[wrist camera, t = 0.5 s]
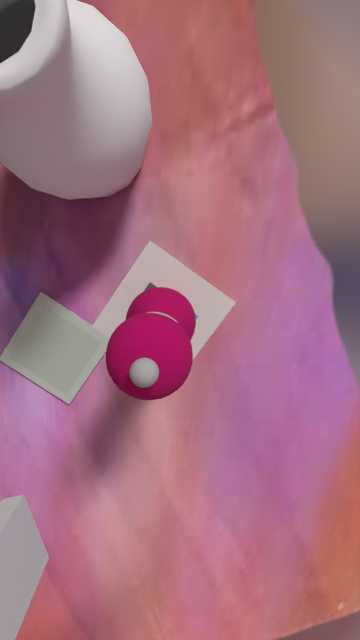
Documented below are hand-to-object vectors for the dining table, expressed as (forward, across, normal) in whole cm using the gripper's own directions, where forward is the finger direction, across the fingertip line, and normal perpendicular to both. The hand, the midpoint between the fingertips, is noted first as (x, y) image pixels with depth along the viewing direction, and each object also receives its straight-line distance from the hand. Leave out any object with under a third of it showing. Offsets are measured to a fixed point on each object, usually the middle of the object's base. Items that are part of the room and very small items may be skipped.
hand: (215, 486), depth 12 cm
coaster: (+28, -16, 0) cm, 33 cm away
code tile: (+28, -3, +1) cm, 28 cm away
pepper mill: (+28, -3, +1) cm, 28 cm away
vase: (+29, -5, +21) cm, 36 cm away
